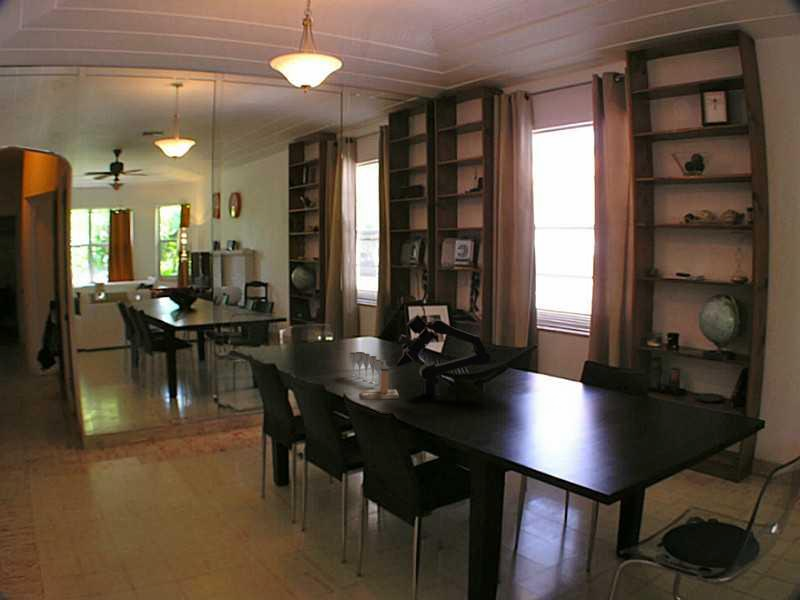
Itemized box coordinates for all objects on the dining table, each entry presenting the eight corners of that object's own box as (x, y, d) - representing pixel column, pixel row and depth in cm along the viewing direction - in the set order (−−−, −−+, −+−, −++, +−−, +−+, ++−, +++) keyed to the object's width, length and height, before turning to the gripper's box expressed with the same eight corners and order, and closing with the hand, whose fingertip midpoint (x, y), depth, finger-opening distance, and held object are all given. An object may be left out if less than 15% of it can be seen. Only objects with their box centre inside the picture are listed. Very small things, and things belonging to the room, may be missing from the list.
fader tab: (387, 390, 273) (387, 366, 272) (388, 393, 267) (389, 368, 266) (379, 390, 273) (379, 366, 272) (380, 393, 267) (381, 368, 266)
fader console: (396, 392, 276) (396, 389, 276) (398, 398, 266) (398, 394, 266) (360, 393, 274) (360, 389, 274) (362, 398, 264) (362, 395, 264)
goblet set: (345, 376, 308) (346, 350, 307) (355, 374, 312) (355, 349, 310) (378, 387, 286) (378, 359, 285) (388, 385, 290) (388, 358, 288)
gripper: (407, 325, 278) (382, 349, 278) (412, 331, 259) (386, 357, 259) (423, 342, 280) (399, 366, 279) (430, 349, 261) (404, 375, 261)
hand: (397, 365), depth 270 cm, fingers closed
